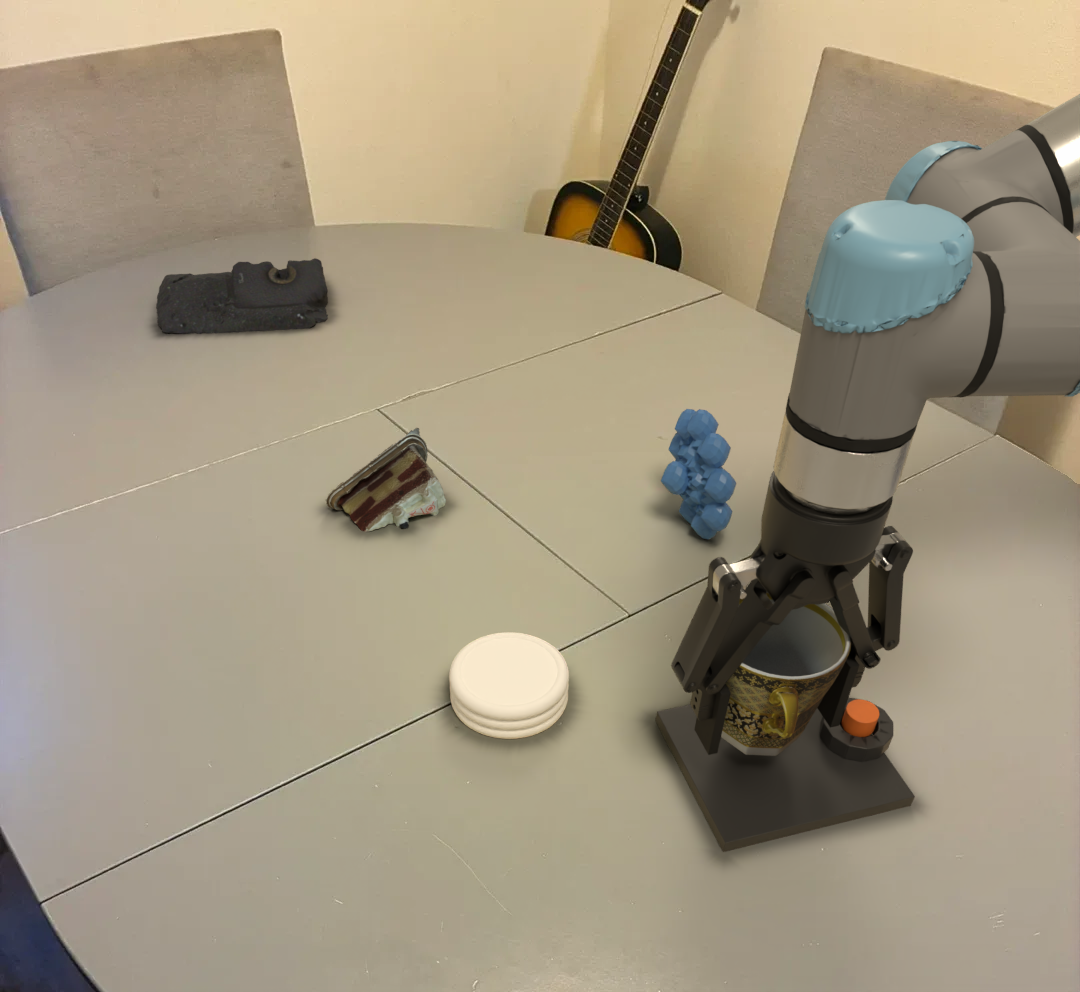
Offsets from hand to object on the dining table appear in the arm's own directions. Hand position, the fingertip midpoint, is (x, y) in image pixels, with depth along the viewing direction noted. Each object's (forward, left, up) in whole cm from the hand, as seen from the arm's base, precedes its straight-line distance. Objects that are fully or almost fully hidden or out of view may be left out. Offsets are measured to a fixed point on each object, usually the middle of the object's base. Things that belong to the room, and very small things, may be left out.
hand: (766, 727), depth 79 cm
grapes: (-7, -32, -5) cm, 33 cm away
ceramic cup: (0, 0, -1) cm, 1 cm away
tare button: (-8, 0, -2) cm, 9 cm away
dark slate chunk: (+31, -92, -5) cm, 97 cm away
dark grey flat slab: (-2, 0, -5) cm, 5 cm away
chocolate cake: (+21, -42, -5) cm, 47 cm away
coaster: (+17, -13, -5) cm, 22 cm away
